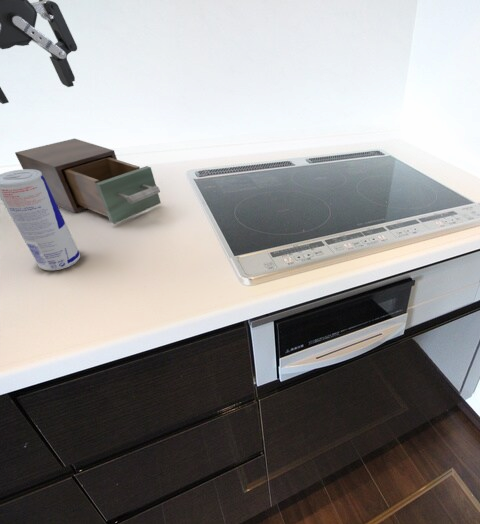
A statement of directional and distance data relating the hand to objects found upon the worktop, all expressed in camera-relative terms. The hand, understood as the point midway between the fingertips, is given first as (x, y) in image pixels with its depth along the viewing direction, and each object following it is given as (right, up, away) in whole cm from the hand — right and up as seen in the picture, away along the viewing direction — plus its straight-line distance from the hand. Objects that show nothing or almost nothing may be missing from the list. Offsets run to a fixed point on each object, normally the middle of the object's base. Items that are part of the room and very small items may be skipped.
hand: (37, 93), depth 52 cm
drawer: (-1, -13, +22) cm, 25 cm away
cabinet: (-14, -9, +28) cm, 32 cm away
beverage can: (-3, -24, +8) cm, 26 cm away
